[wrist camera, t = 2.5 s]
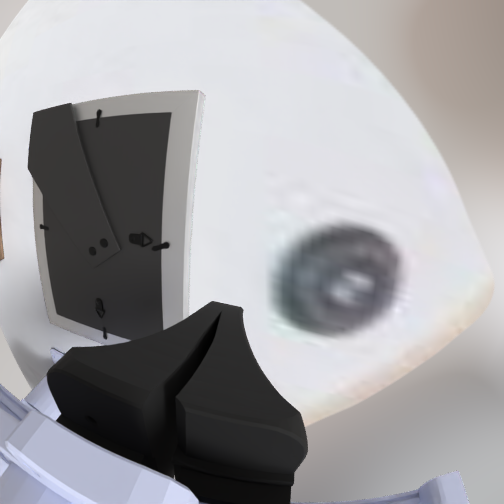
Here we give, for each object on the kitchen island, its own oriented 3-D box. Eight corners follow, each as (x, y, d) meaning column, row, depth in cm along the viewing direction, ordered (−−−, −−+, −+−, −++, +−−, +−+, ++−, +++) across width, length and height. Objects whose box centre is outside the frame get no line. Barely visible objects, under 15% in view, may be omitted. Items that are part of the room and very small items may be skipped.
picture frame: (53, 114, 17) (61, 314, 24) (33, 112, 15) (46, 326, 21) (208, 97, 16) (191, 353, 23) (196, 86, 14) (181, 373, 20)
